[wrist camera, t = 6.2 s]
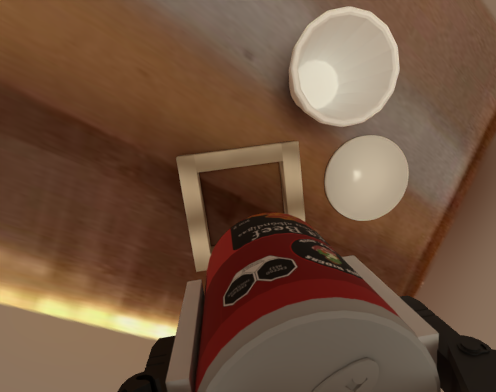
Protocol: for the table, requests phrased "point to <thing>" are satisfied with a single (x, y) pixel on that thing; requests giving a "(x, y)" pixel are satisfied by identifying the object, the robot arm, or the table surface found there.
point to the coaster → (366, 177)
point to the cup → (344, 67)
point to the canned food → (300, 319)
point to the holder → (234, 158)
